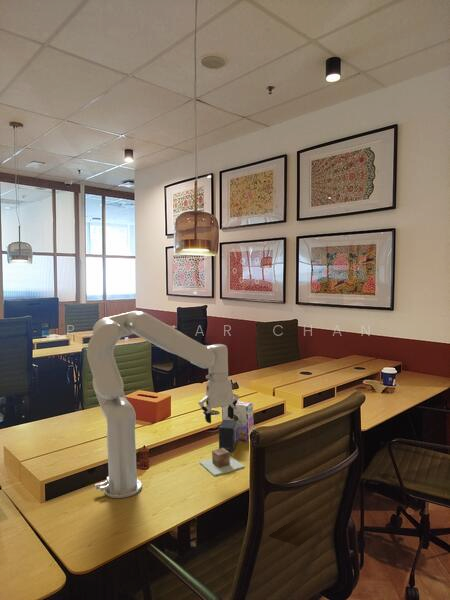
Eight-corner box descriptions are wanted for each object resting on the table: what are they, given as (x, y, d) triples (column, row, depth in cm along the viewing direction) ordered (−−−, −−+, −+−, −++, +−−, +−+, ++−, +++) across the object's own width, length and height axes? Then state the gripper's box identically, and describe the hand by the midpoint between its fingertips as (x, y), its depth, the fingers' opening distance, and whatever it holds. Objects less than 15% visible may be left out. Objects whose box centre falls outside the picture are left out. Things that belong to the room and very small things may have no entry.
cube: (218, 468, 156) (218, 455, 155) (212, 463, 160) (212, 450, 160) (229, 464, 158) (229, 452, 158) (223, 460, 162) (223, 447, 162)
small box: (233, 452, 171) (233, 428, 170) (218, 451, 172) (217, 427, 172) (238, 442, 181) (237, 419, 181) (223, 442, 182) (223, 419, 182)
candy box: (254, 438, 186) (253, 402, 185) (248, 442, 181) (247, 406, 180) (228, 432, 193) (227, 398, 193) (222, 437, 188) (221, 402, 188)
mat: (214, 476, 150) (214, 474, 150) (199, 463, 162) (199, 461, 162) (244, 467, 157) (244, 466, 156) (227, 455, 168) (227, 454, 168)
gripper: (202, 381, 150) (203, 427, 151) (242, 375, 158) (243, 418, 159) (194, 377, 157) (195, 421, 157) (233, 371, 165) (234, 413, 166)
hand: (219, 419), depth 158 cm, fingers open, 9 cm apart
